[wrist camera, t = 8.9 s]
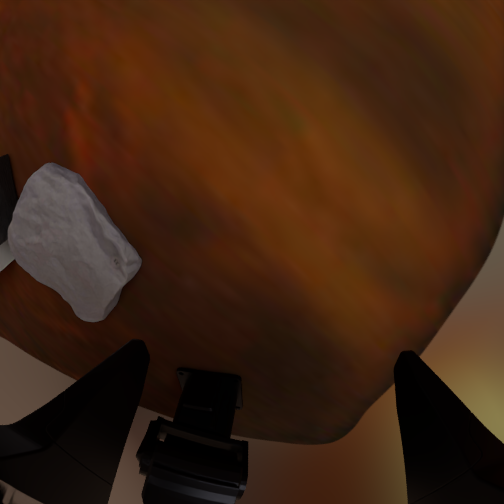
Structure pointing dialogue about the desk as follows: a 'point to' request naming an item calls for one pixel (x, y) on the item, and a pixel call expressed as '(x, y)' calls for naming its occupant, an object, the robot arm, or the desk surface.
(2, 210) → the black rectangular block
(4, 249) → the block
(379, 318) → the desk surface
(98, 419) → the robot arm
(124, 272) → the stone block
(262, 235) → the desk surface
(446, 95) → the desk surface
